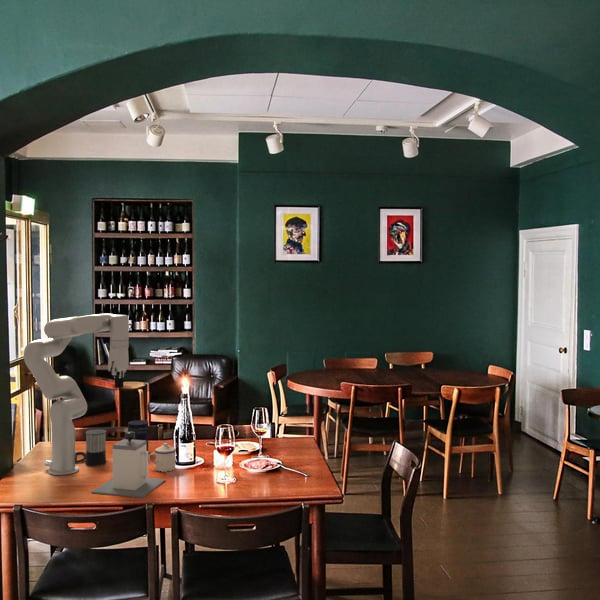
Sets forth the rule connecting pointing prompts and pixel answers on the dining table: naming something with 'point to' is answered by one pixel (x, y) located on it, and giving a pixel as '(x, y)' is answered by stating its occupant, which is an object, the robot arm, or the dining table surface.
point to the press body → (129, 464)
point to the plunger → (130, 436)
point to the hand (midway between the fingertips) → (119, 387)
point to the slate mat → (140, 492)
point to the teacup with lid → (164, 458)
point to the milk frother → (94, 448)
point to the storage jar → (139, 430)
